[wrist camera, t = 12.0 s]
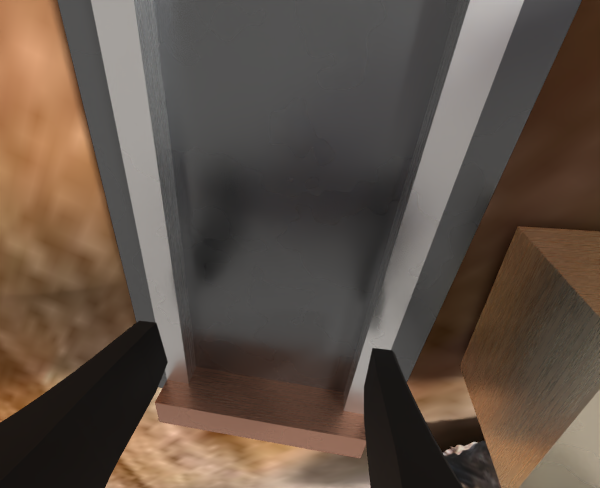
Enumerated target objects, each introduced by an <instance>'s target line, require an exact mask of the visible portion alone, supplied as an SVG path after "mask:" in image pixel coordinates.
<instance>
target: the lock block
mask: <svg viewBox="0 0 600 488" xmlns="http://www.w3.org/2000/svg"><path fill="white" fill-rule="evenodd" d="M460 368H461V371H462V374H463V377H464V380H465V383H466V386H467V389H468V392H469V395H470V398H471V400H472V403H473V406H474V409H475V412H476V415H477V418H478V421H479V424H480V427H481V430H482V432H483V435H484V438H485V441H486V444H487V447H488V450H489V453H490V456H491V459H492V462H493V465H494V467H495V470H496V473H497V476H498V479H499V482H500V485H501V488H600V231H586V230H569V229H553V228H536V227H519V226H518V227H517V229H516V232H515V234H514V236H513V239H512V241H511V244H510V246H509V248H508V251H507V253H506V256H505V258H504V260H503V263H502V265H501V268H500V270H499V272H498V275H497V277H496V280H495V282H494V284H493V287H492V289H491V292H490V294H489V296H488V299H487V301H486V304H485V306H484V308H483V311H482V313H481V316H480V318H479V320H478V323H477V325H476V328H475V330H474V332H473V335H472V337H471V340H470V342H469V345H468V347H467V349H466V352H465V354H464V357H463V359H462V361H461V364H460Z"/></svg>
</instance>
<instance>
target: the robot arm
mask: <svg viewBox="0 0 600 488" xmlns="http://www.w3.org/2000/svg"><path fill="white" fill-rule="evenodd" d="M167 363H168V361H167V357H166V354H165V350H164V347H163V343H162V340H161V336H160V333H159V330H158V326H157V323H156V322H147V321H138V322H137V323H136V324H134V325H133V326H132V327H130V328H129V329H128V330H127V331H125V332H124V333H123V334H122V335H120V336H119V337H118V338H117V339H115V340H114V341H113V342H112V343H110V344H109V345H108V346H107V347H105V348H104V349H103V350H102V351H100V352H99V353H98V354H96V355H95V356H94V357H93V358H91V359H90V360H89V361H87V362H86V363H85V364H84V365H82V366H81V367H80V368H78V369H77V370H76V371H75V372H73V373H72V374H70V375H69V376H68V377H66V378H65V379H64V380H62V381H61V382H59V383H58V384H57V385H55V386H54V387H52V388H51V389H50V390H48V391H47V392H46V393H44V394H43V395H41V396H40V397H39V398H37V399H36V400H34V401H33V402H31V403H30V404H28V405H27V406H25V407H24V408H22V409H21V410H19V411H18V412H16V413H15V414H13V415H12V416H10V417H9V418H7V419H5V420H4V421H2V422H1V423H0V488H105V486H106V484H107V482H108V480H109V478H110V475H111V474H112V472H113V470H114V468H115V466H116V464H117V462H118V460H119V458H120V456H121V454H122V453H123V451H124V449H125V447H126V445H127V444H128V442H129V440H130V438H131V436H132V435H133V433H134V431H135V429H136V427H137V426H138V424H139V422H140V420H141V418H142V417H143V415H144V413H145V411H146V409H147V407H148V406H149V404H150V402H151V400H152V398H153V396H154V394H155V393H156V390H157V388H158V386H159V383H160V381H161V379H162V376H163V374H164V371H165V368H166V366H167ZM364 426H365V436H366V446H367V456H368V465H369V475H370V485H371V488H463V486H462V484H461V483H460V481H459V480H458V478H457V476H456V475H455V473H454V471H453V470H452V468H451V466H450V465H449V463H448V461H447V460H446V458H445V456H444V454H443V453H442V451H441V449H440V447H439V446H438V444H437V442H436V440H435V439H434V437H433V435H432V433H431V431H430V429H429V427H428V426H427V424H426V422H425V420H424V418H423V416H422V414H421V412H420V410H419V408H418V406H417V404H416V402H415V400H414V398H413V395H412V393H411V391H410V389H409V387H408V385H407V382H406V380H405V378H404V375H403V373H402V371H401V368H400V366H399V363H398V361H397V358H396V355H395V353H394V352H393V351H392V350H387V349H378V348H372V352H371V357H370V361H369V366H368V370H367V375H366V379H365V384H364Z"/></svg>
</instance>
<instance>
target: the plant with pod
mask: <svg viewBox="0 0 600 488" xmlns="http://www.w3.org/2000/svg"><path fill="white" fill-rule="evenodd" d="M450 447H451V446H450ZM451 448H452V449H448V450H446V451H445V452H443V454H444V456H445V458H446V460H447V461H448V463H449V465H450V466H451V468H452V470H453V471H454V473H455V475H456V476H457V478H458V480H459V481H460V483H461V484H462V486H463V488H501V485H500V482H499V479H498V476H497V473H496V470H495V467H494V465H493V462H492V459H491V456H490V453H489V450H488V447H487V444H486V441H479V442H472V443H470V444H468V445H466V446H462V445H457V446H456V447H451Z"/></svg>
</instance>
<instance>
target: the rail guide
mask: <svg viewBox="0 0 600 488" xmlns="http://www.w3.org/2000/svg"><path fill="white" fill-rule="evenodd" d="M581 1H582V0H58V4H59V8H60V12H61V16H62V20H63V24H64V29H65V33H66V37H67V41H68V45H69V49H70V53H71V57H72V61H73V65H74V69H75V73H76V77H77V82H78V86H79V90H80V94H81V98H82V102H83V106H84V110H85V114H86V118H87V122H88V126H89V130H90V135H91V139H92V143H93V147H94V151H95V155H96V159H97V163H98V167H99V171H100V175H101V179H102V183H103V188H104V192H105V196H106V200H107V204H108V208H109V212H110V216H111V220H112V224H113V228H114V232H115V236H116V241H117V245H118V249H119V253H120V257H121V261H122V265H123V269H124V273H125V277H126V281H127V285H128V290H129V294H130V298H131V302H132V306H133V310H134V314H135V318H136V322H138V321H147V322H156V323H157V326H158V330H159V333H160V336H161V340H162V343H163V347H164V350H165V354H166V357H167V361H168V363H167V366H166V368H165V371H164V374H163V376H162V379H161V381H160V383H159V386H158V387H160V388H162V390H161V392H160V394H159V396H158V398H157V400H156V402H155V405H156V409H157V413H158V417H159V421H160V422H163V423H169V424H174V425H180V426H185V427H191V428H196V429H202V430H207V431H213V432H218V433H224V434H229V435H235V436H240V437H245V438H251V439H256V440H262V441H267V442H273V443H278V444H284V445H289V446H295V447H300V448H306V449H311V450H317V451H322V452H328V453H333V454H339V455H344V456H350V457H355V458H361V455H362V453H363V451H364V448H365V446H366V436H365V426H364V384H365V379H366V375H367V370H368V366H369V361H370V357H371V352H372V348H378V349H387V350H392V351H393V352H394V353H395V355H396V358H397V361H398V363H399V366H400V368H401V371H402V373H403V375H404V378H405V380H406V382H407V381H408V379H409V376H410V374H411V372H412V370H413V368H414V365H415V363H416V361H417V359H418V357H419V355H420V352H421V350H422V348H423V346H424V344H425V341H426V339H427V337H428V335H429V333H430V331H431V328H432V326H433V324H434V322H435V320H436V317H437V315H438V313H439V311H440V309H441V307H442V304H443V302H444V300H445V298H446V296H447V293H448V291H449V289H450V287H451V285H452V283H453V280H454V278H455V276H456V274H457V272H458V269H459V267H460V265H461V263H462V261H463V259H464V256H465V254H466V252H467V250H468V248H469V245H470V243H471V241H472V239H473V237H474V235H475V232H476V230H477V228H478V226H479V224H480V221H481V219H482V217H483V215H484V213H485V211H486V208H487V206H488V204H489V202H490V200H491V197H492V195H493V193H494V191H495V189H496V187H497V184H498V182H499V180H500V178H501V176H502V173H503V171H504V169H505V167H506V165H507V163H508V160H509V158H510V156H511V154H512V152H513V149H514V147H515V145H516V143H517V141H518V139H519V136H520V134H521V132H522V130H523V128H524V125H525V123H526V121H527V119H528V117H529V115H530V112H531V110H532V108H533V106H534V104H535V101H536V99H537V97H538V95H539V93H540V91H541V88H542V86H543V84H544V82H545V80H546V77H547V75H548V73H549V71H550V69H551V67H552V64H553V62H554V60H555V58H556V56H557V53H558V51H559V49H560V47H561V45H562V43H563V40H564V38H565V36H566V34H567V32H568V29H569V27H570V25H571V23H572V21H573V19H574V16H575V14H576V12H577V10H578V8H579V5H580V3H581Z"/></svg>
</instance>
